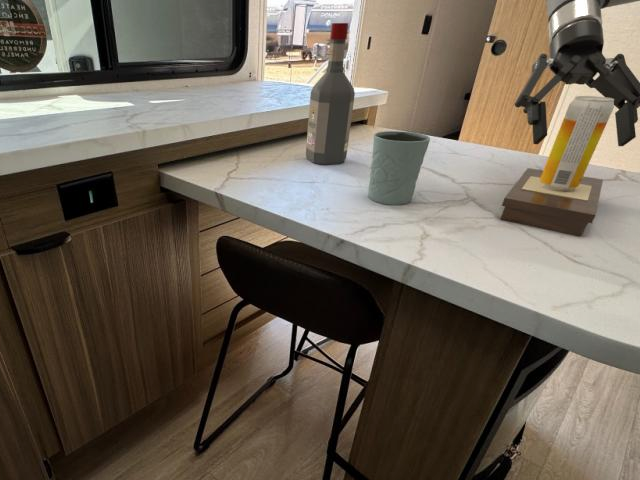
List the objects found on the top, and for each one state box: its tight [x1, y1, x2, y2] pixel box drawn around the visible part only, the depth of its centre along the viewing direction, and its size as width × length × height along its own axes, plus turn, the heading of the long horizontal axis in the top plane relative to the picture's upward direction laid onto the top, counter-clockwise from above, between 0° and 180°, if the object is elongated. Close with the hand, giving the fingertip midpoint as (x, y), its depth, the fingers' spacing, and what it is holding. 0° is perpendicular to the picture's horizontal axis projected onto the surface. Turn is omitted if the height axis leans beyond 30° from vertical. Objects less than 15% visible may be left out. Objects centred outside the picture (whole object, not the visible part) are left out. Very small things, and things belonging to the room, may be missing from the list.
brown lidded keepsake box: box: [500, 167, 604, 237], centre depth 78 cm, size 24×13×4 cm, turn 141°
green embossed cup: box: [367, 130, 431, 206], centre depth 81 cm, size 10×10×12 cm
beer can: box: [540, 95, 615, 191], centre depth 73 cm, size 6×6×15 cm
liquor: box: [305, 22, 356, 166], centre depth 101 cm, size 9×9×30 cm
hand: (583, 140), depth 71 cm, fingers open, 13 cm apart
